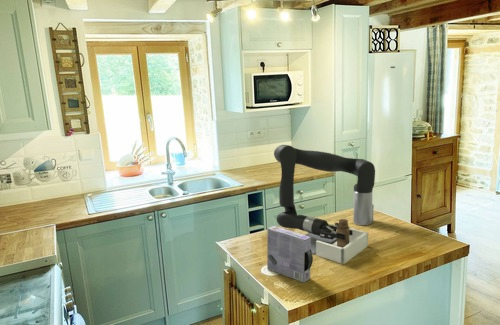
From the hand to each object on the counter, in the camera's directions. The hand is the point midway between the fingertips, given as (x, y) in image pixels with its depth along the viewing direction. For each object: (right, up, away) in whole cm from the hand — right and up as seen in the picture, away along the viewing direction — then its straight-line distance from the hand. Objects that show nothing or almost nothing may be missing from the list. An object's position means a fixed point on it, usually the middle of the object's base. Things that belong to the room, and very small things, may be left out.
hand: (348, 235), depth 160 cm
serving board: (-12, -6, +14) cm, 20 cm away
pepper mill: (-1, -7, +3) cm, 8 cm away
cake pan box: (-27, -13, -13) cm, 32 cm away
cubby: (-2, -8, +4) cm, 9 cm away
